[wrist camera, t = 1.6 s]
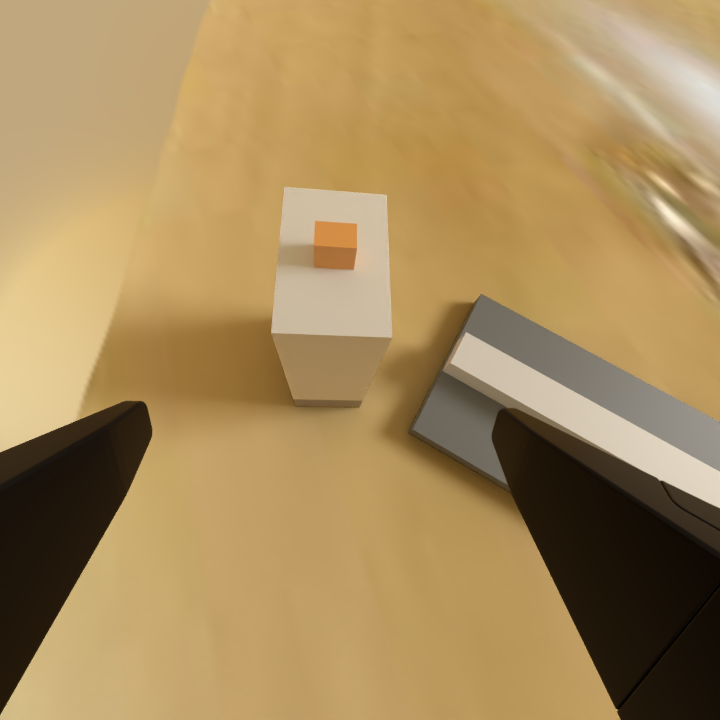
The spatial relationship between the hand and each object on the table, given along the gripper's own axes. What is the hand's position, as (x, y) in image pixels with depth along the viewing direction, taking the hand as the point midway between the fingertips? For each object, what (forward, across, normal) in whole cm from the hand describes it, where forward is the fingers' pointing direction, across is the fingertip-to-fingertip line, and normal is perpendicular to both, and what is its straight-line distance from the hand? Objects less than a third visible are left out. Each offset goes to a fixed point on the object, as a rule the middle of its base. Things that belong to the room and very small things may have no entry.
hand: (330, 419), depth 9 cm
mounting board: (+10, -16, +8) cm, 21 cm away
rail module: (+13, 0, +5) cm, 14 cm away
